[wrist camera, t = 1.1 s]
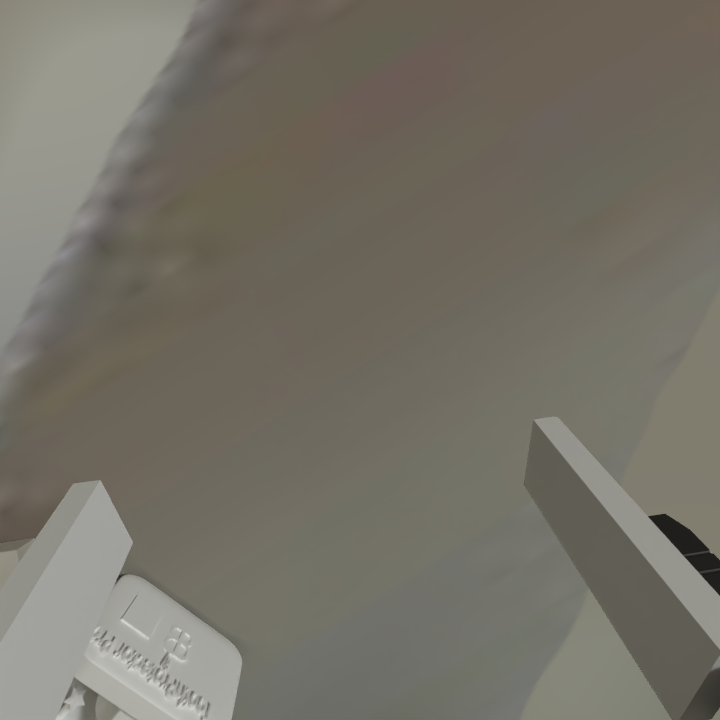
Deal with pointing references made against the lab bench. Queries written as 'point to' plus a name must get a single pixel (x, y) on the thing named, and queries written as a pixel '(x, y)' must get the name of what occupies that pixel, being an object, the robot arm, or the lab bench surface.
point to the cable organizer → (152, 662)
